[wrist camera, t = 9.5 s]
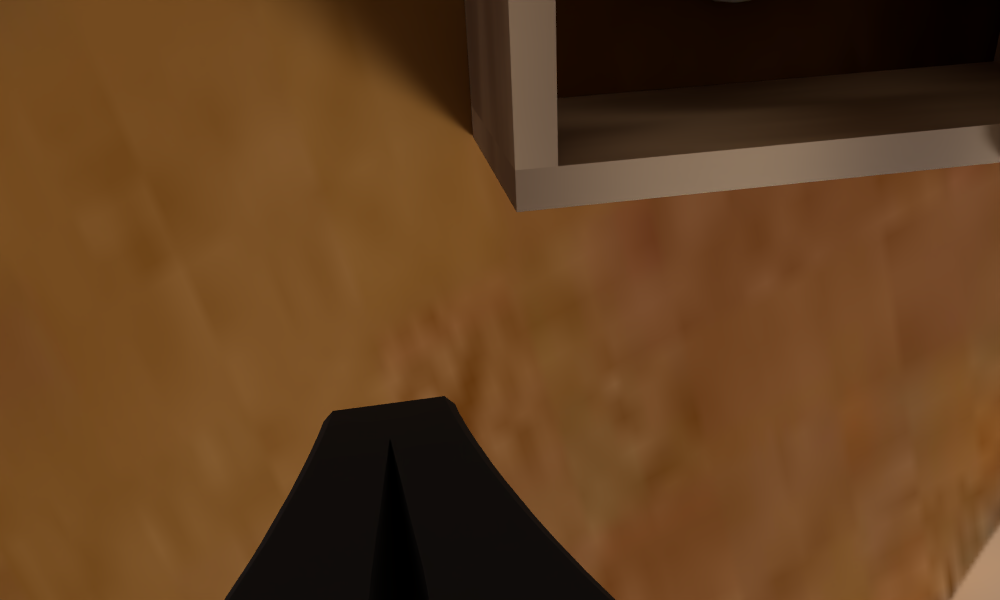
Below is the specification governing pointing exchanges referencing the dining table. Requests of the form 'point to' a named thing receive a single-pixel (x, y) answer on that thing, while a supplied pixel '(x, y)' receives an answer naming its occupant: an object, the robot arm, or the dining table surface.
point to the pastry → (733, 0)
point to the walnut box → (708, 122)
